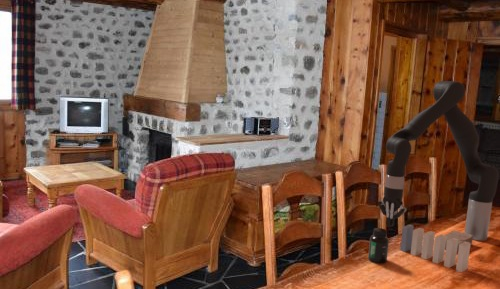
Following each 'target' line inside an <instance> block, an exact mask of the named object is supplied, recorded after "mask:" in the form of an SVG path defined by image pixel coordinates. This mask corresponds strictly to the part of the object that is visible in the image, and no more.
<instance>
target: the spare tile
mask: <svg viewBox="0 0 500 289" xmlns="http://www.w3.org/2000/svg"><path fill="white" fill-rule="evenodd" d="M414 227H415V226H414V225H412V224H407V225H404V226H402V228H401V229H402V230H401V238H400V239H401V241H400V249H399V251H400V252H403V253H406V252H408V251H411V245H412V236H413V230H414Z"/></svg>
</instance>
